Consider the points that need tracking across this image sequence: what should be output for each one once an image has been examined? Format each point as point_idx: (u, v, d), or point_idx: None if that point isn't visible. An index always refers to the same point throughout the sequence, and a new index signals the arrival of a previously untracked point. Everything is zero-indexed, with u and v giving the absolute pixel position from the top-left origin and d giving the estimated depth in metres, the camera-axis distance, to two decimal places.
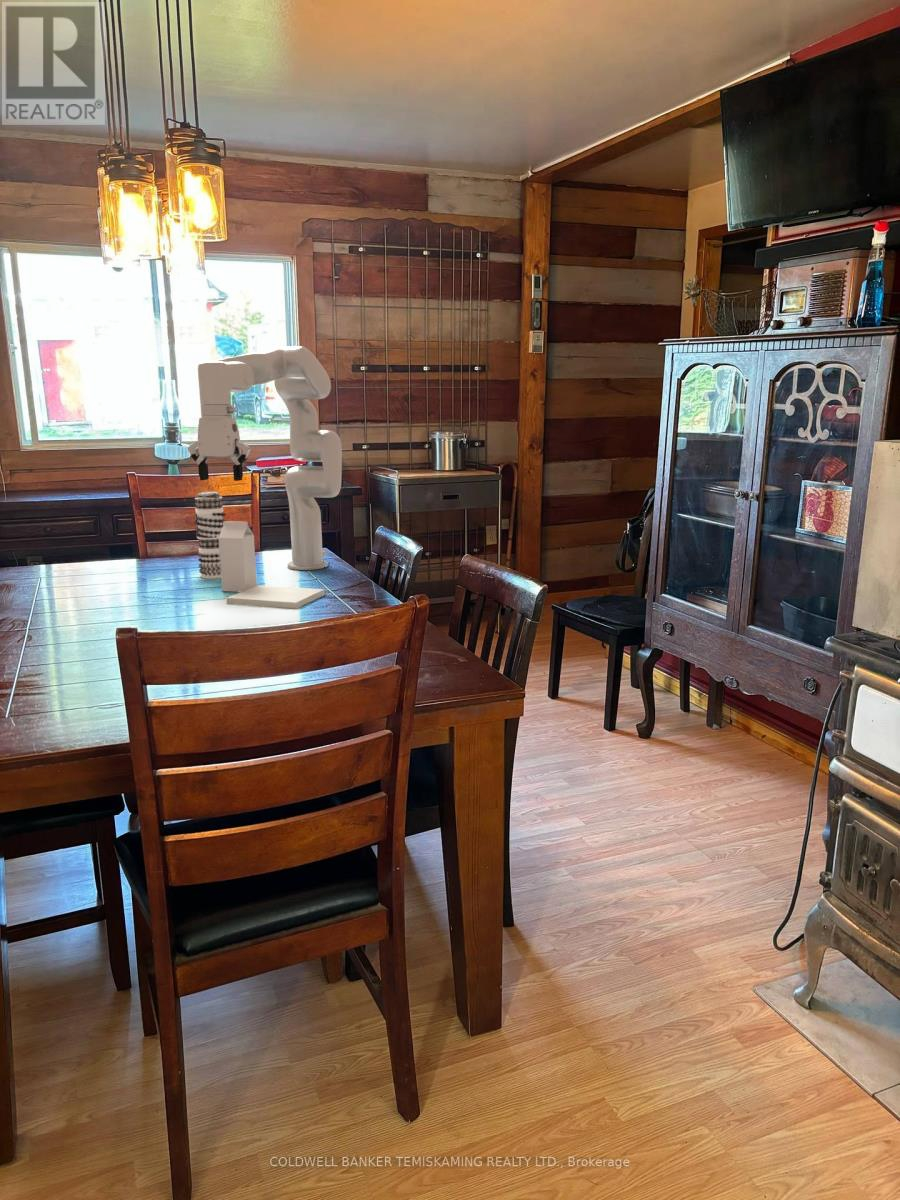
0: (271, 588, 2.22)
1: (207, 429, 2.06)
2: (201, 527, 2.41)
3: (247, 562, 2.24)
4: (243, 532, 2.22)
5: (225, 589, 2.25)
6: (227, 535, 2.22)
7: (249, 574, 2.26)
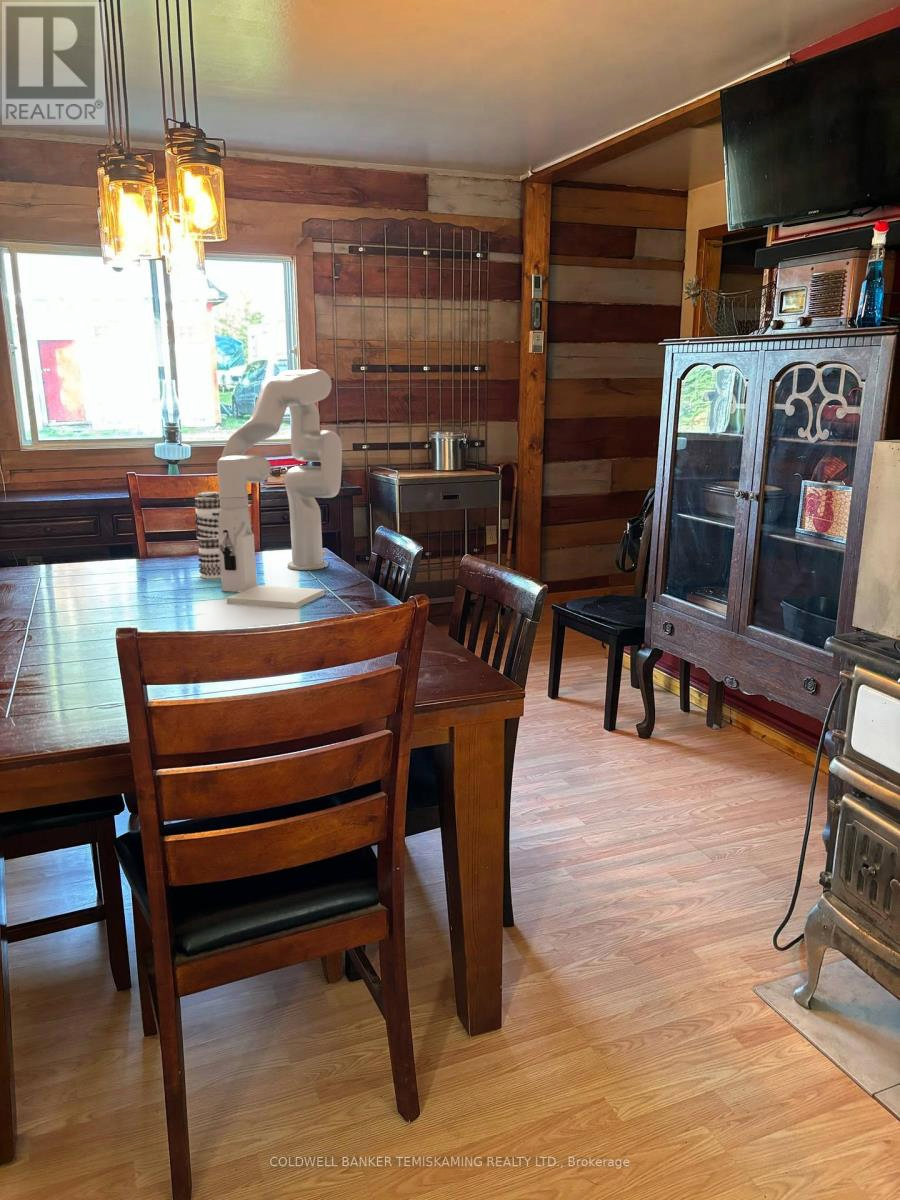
0: (271, 588, 2.22)
1: (240, 520, 2.22)
2: (201, 527, 2.41)
3: (247, 562, 2.24)
4: (243, 532, 2.22)
5: (225, 589, 2.25)
6: None
7: (249, 574, 2.26)
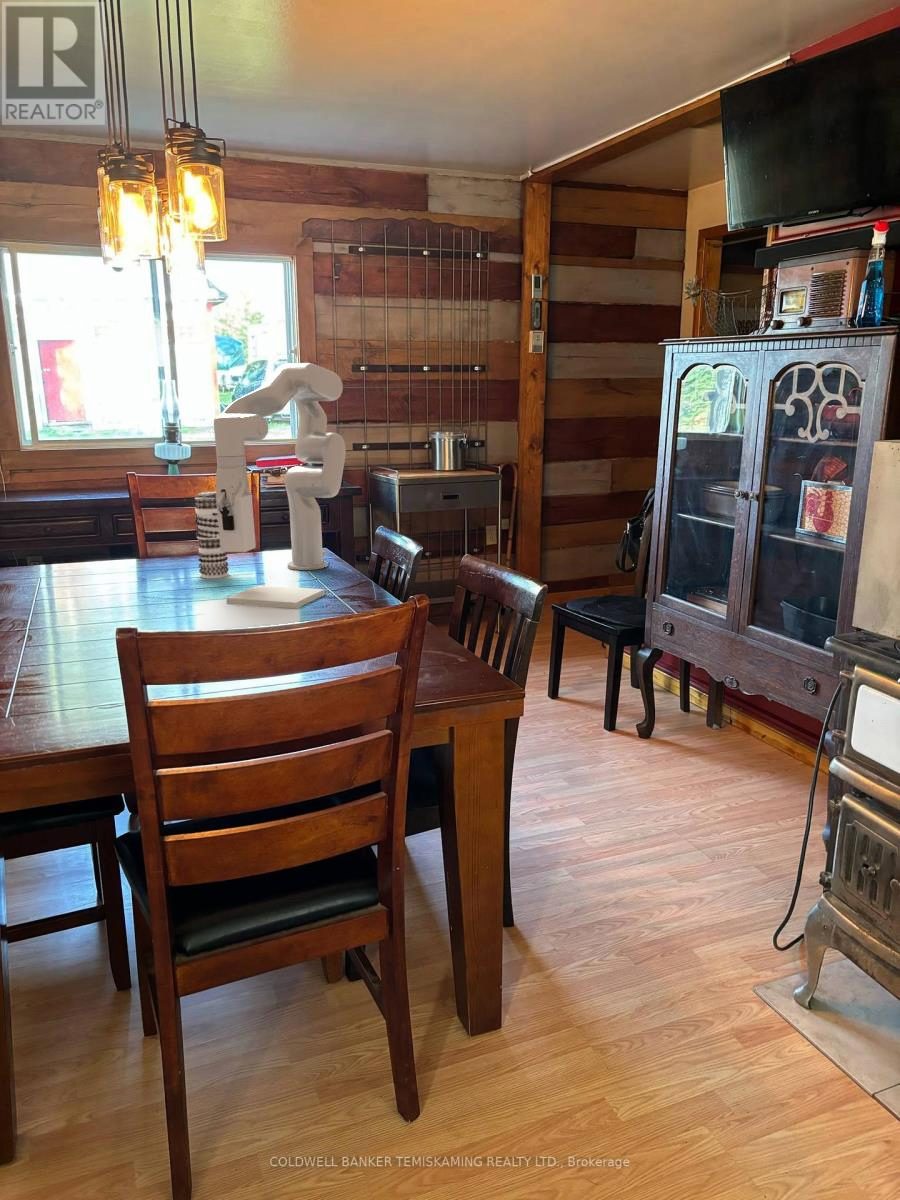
0: (271, 588, 2.22)
1: (238, 479, 2.19)
2: (201, 527, 2.41)
3: (246, 522, 2.22)
4: (241, 492, 2.20)
5: (223, 550, 2.23)
6: None
7: (248, 534, 2.24)
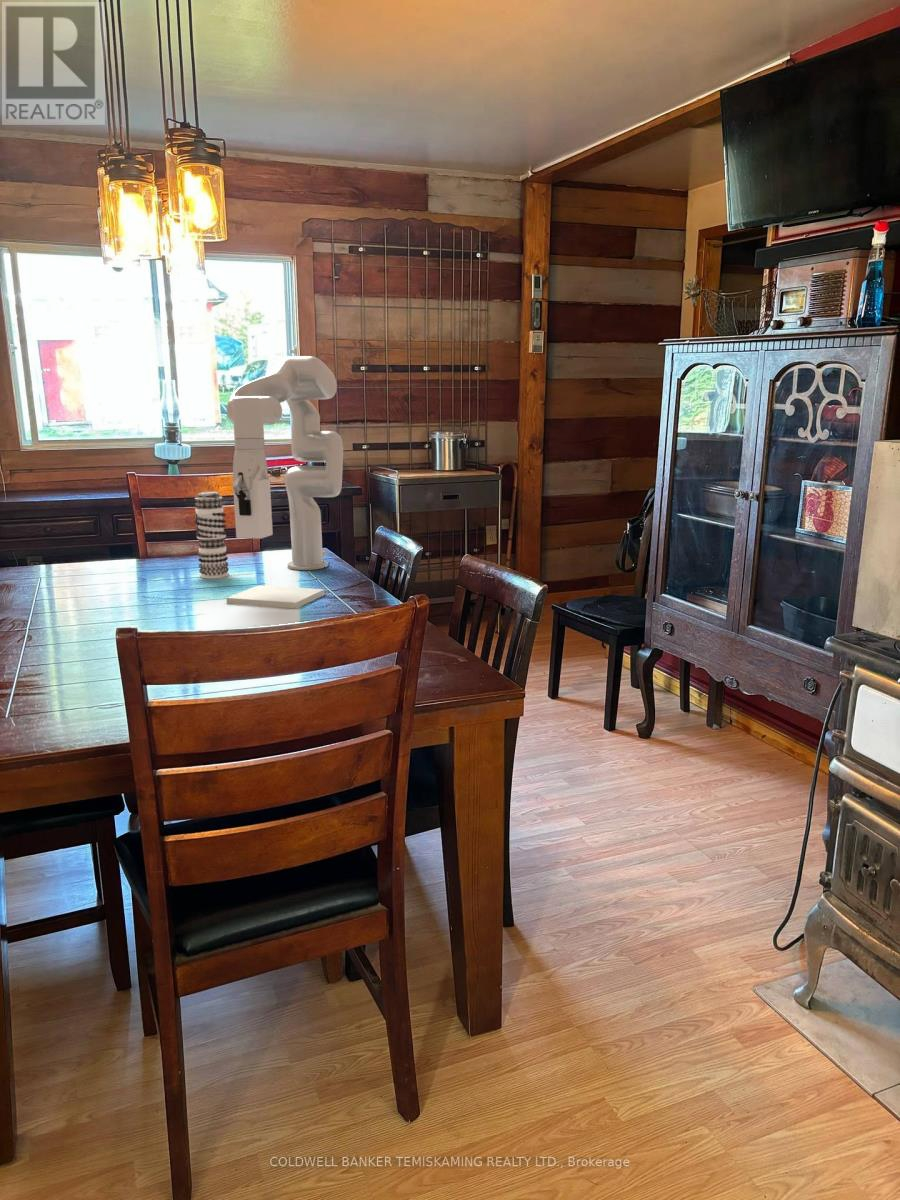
0: (271, 588, 2.22)
1: (256, 462, 2.11)
2: (201, 527, 2.41)
3: (263, 507, 2.14)
4: (258, 475, 2.11)
5: (239, 536, 2.15)
6: None
7: (264, 520, 2.15)
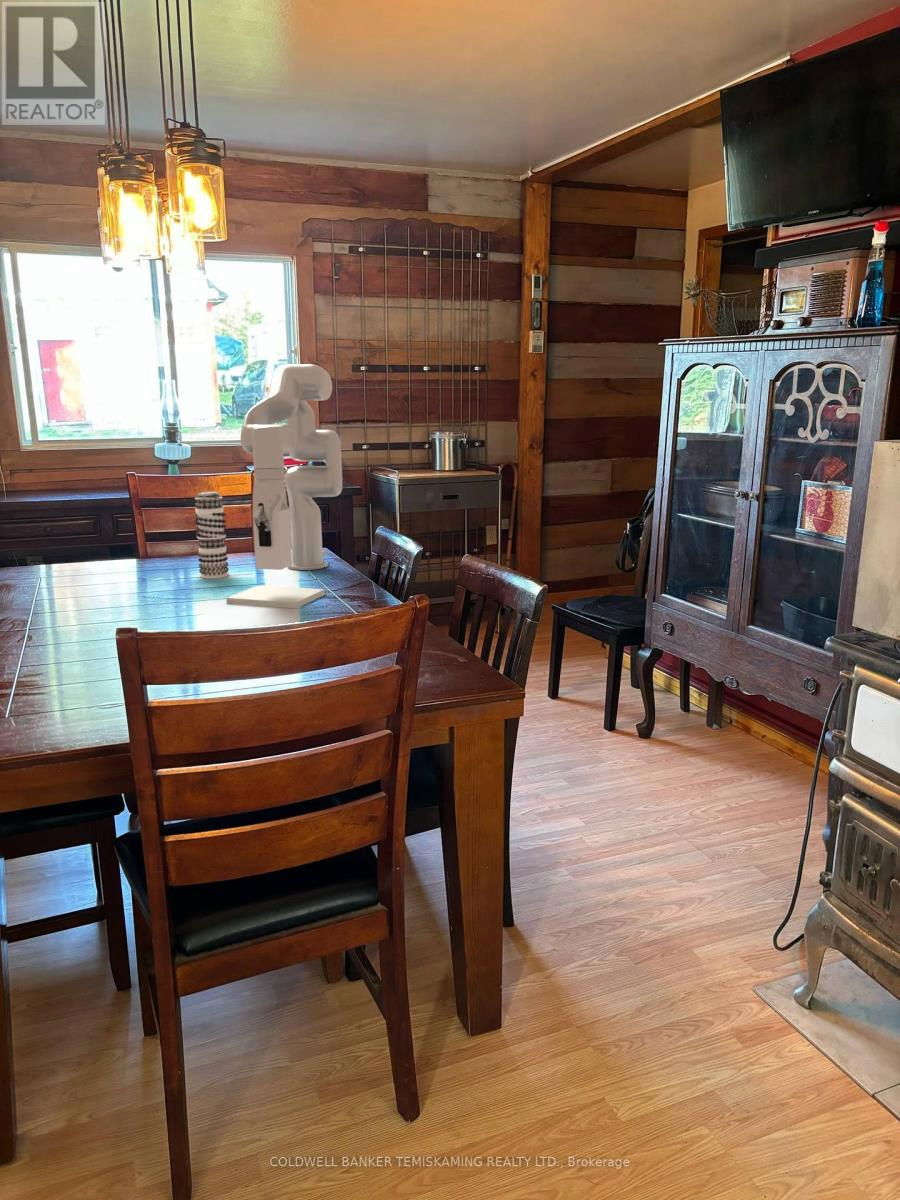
0: (271, 588, 2.22)
1: (276, 492, 2.07)
2: (201, 527, 2.41)
3: (283, 538, 2.10)
4: (279, 505, 2.08)
5: (259, 567, 2.11)
6: None
7: (285, 551, 2.11)
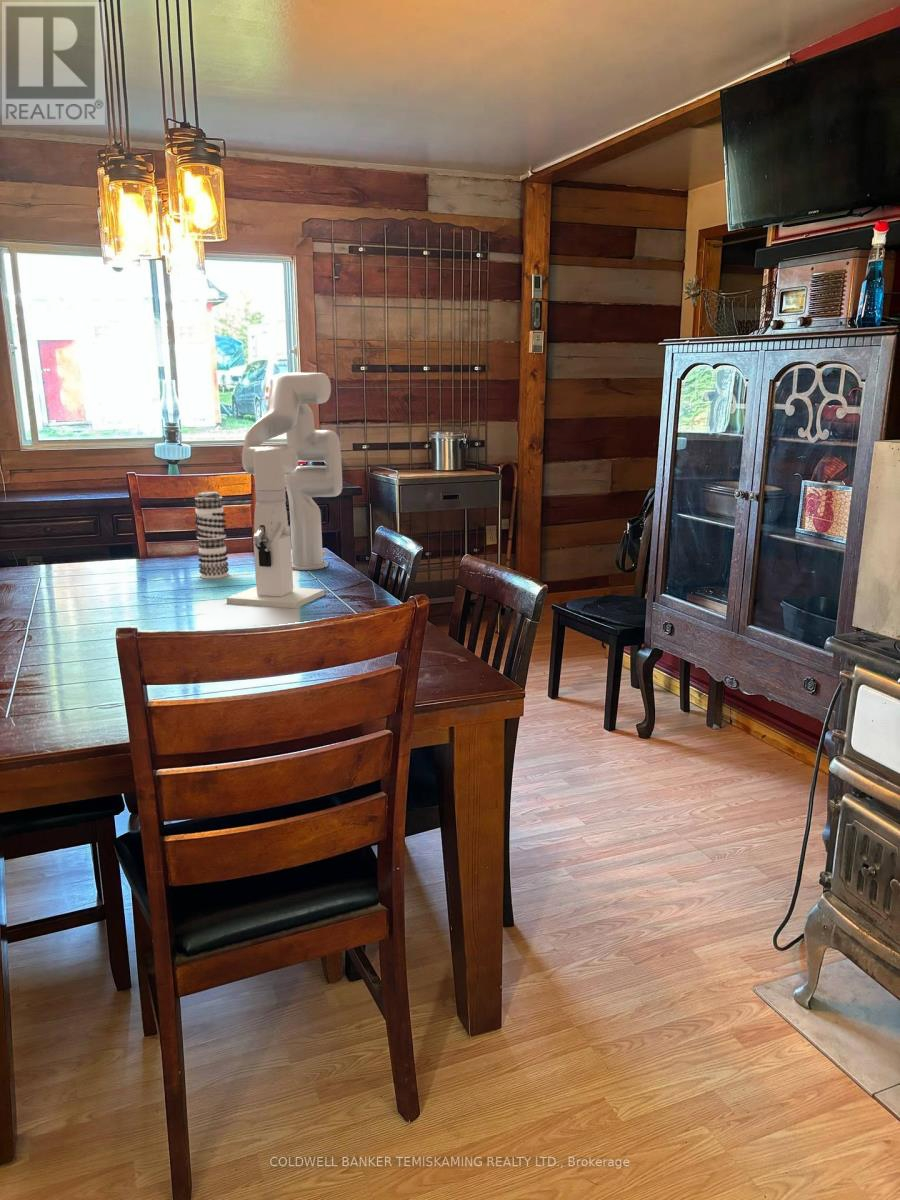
0: None
1: (277, 514, 2.09)
2: (201, 527, 2.41)
3: (284, 565, 2.11)
4: (279, 533, 2.09)
5: (260, 593, 2.12)
6: None
7: (285, 577, 2.13)
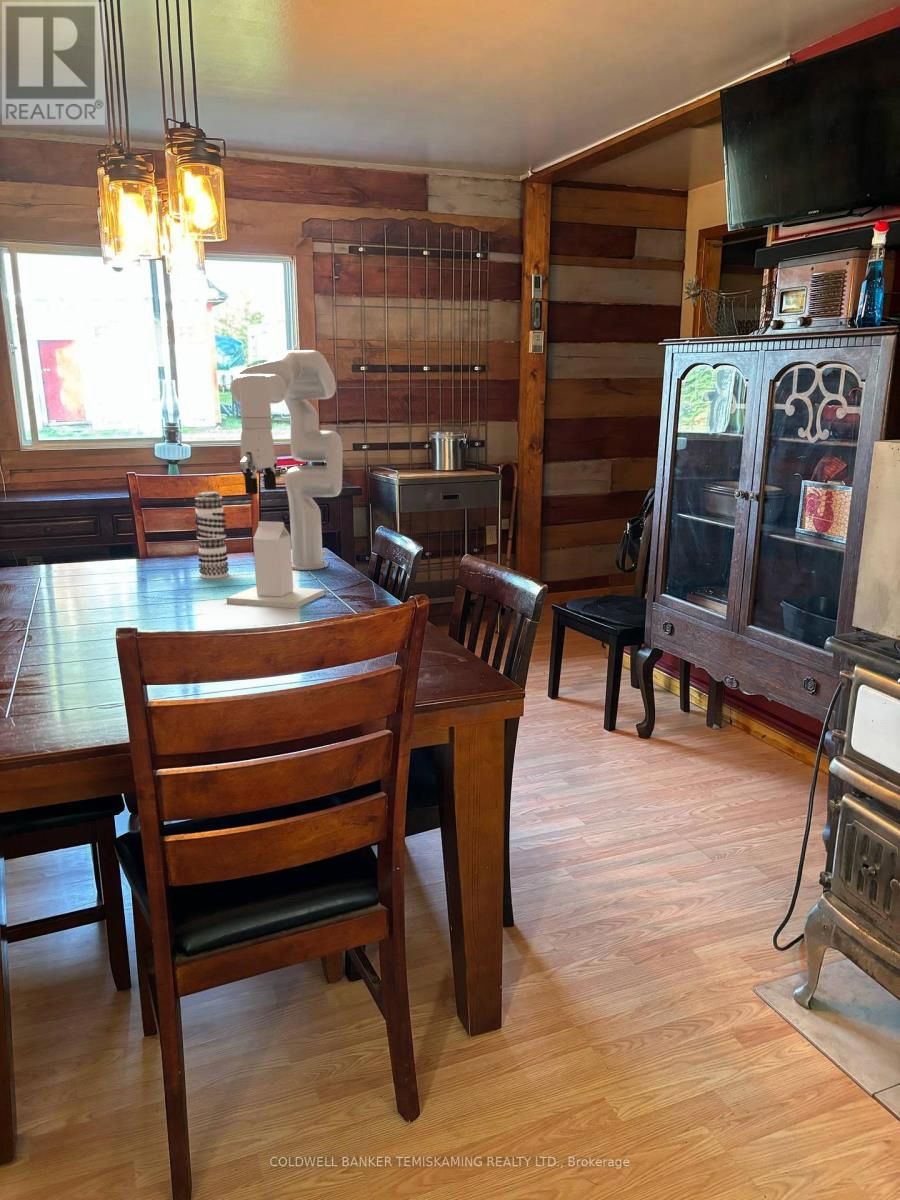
0: None
1: (264, 442, 2.09)
2: (201, 527, 2.41)
3: (284, 565, 2.11)
4: (279, 533, 2.09)
5: (260, 593, 2.12)
6: (262, 536, 2.09)
7: (285, 577, 2.13)
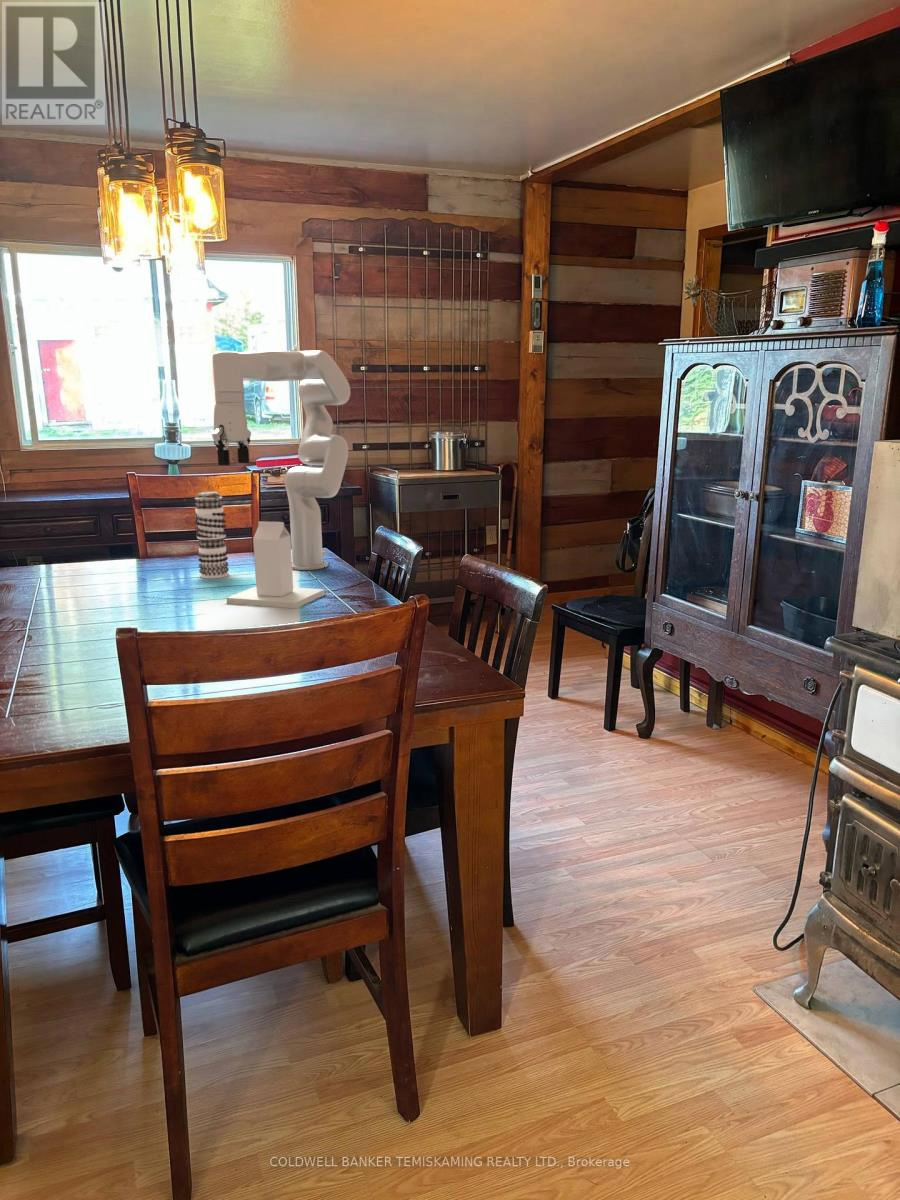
0: None
1: (236, 415, 2.18)
2: (201, 527, 2.41)
3: (284, 565, 2.11)
4: (279, 533, 2.09)
5: (260, 593, 2.12)
6: (262, 536, 2.09)
7: (285, 577, 2.13)
